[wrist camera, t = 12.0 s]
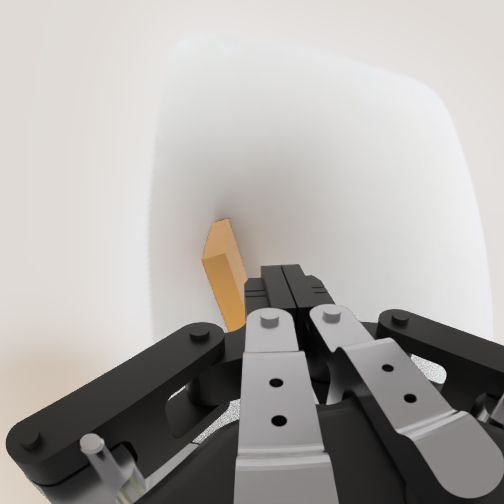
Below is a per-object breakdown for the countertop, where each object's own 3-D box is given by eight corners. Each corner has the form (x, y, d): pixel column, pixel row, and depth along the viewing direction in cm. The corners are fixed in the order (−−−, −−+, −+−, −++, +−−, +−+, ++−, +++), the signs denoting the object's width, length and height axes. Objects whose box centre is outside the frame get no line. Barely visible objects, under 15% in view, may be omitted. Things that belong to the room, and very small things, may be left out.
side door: (292, 408, 29) (307, 484, 20) (280, 411, 29) (292, 487, 21) (229, 214, 23) (224, 264, 14) (213, 219, 23) (198, 272, 14)
